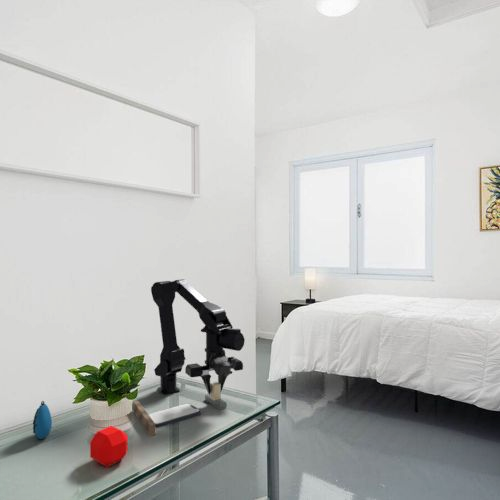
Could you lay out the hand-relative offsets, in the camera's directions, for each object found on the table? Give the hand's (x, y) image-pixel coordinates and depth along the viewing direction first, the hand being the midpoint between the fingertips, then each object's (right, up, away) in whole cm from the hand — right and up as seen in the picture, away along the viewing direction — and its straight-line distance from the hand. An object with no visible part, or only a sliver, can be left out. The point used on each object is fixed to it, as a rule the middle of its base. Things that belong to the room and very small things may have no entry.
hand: (214, 392), depth 145 cm
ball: (-23, -5, -38) cm, 45 cm away
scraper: (0, -4, 0) cm, 4 cm away
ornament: (-45, -4, -25) cm, 52 cm away
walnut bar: (-20, -4, -15) cm, 25 cm away
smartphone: (-12, -4, -11) cm, 17 cm away
